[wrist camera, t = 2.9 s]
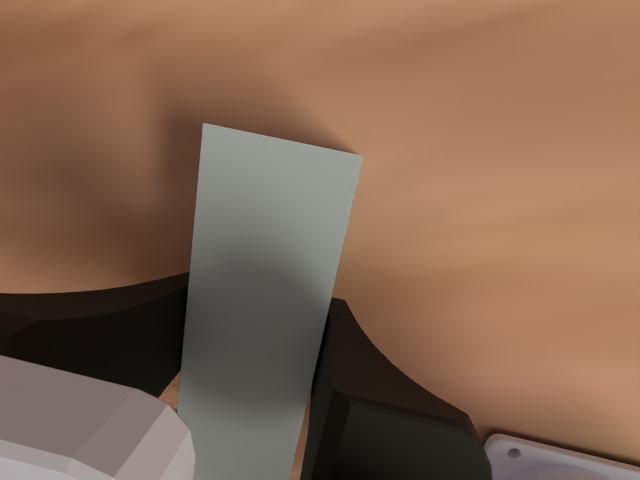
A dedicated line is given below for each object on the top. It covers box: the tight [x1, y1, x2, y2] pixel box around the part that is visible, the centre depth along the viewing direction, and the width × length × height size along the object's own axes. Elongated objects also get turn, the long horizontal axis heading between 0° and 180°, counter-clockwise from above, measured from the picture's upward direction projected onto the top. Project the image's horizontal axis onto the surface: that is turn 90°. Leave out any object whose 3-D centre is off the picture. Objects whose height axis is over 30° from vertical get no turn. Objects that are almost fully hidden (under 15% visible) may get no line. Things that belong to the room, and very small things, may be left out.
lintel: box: [177, 123, 364, 480], centre depth 11 cm, size 12×4×4 cm, turn 169°
